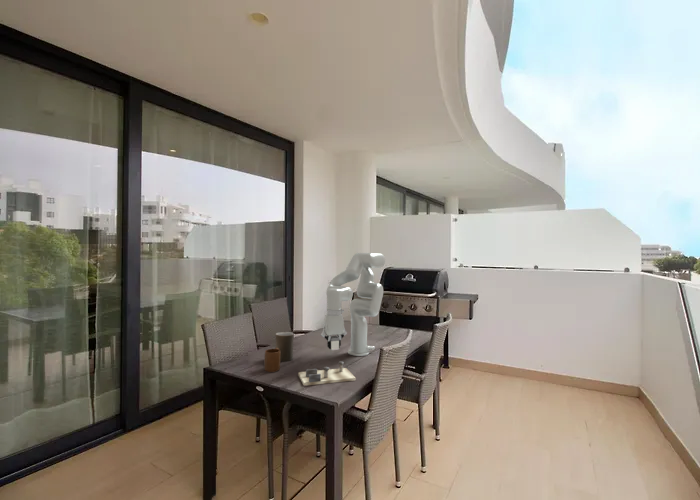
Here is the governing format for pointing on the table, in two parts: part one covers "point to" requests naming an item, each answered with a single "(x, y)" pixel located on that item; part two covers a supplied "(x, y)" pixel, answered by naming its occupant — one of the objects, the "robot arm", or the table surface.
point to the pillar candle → (285, 345)
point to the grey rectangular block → (334, 343)
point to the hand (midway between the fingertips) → (334, 347)
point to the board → (331, 377)
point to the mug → (272, 360)
